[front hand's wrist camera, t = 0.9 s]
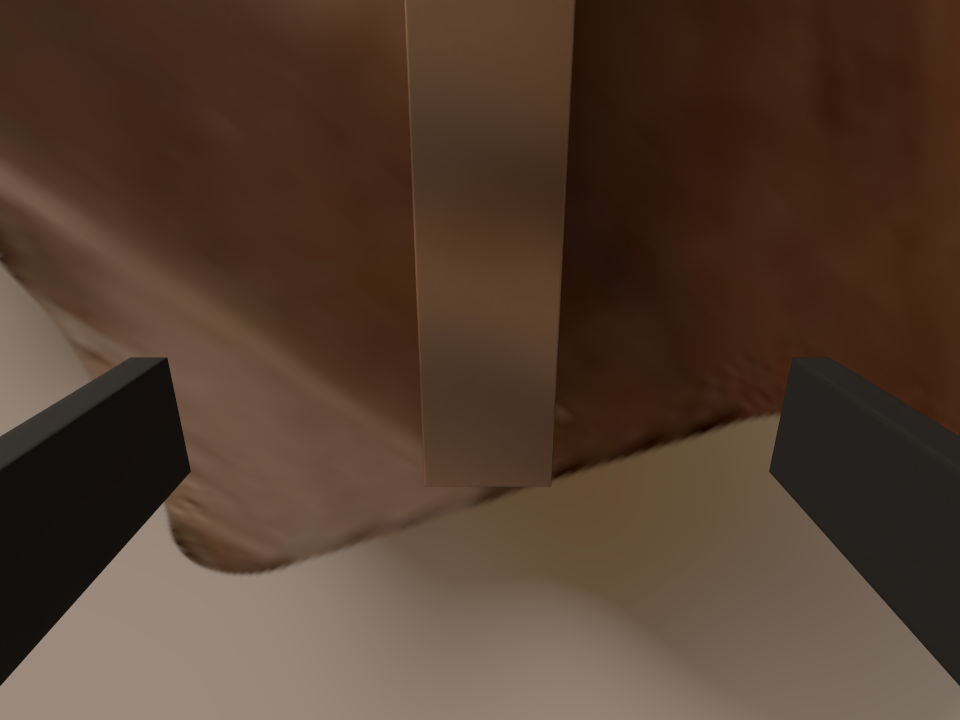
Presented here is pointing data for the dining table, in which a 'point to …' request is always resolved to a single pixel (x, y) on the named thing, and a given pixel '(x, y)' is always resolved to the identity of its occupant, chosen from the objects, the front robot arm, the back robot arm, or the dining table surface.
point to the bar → (488, 231)
